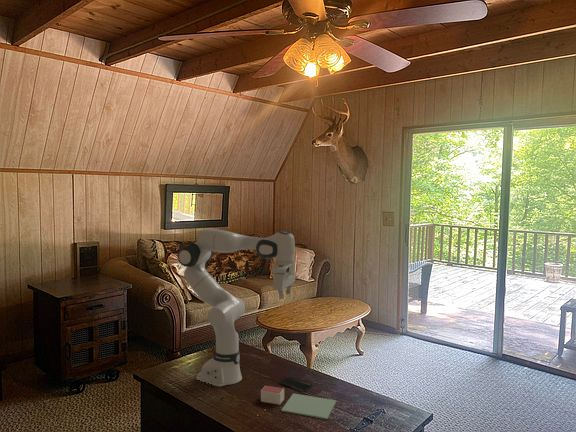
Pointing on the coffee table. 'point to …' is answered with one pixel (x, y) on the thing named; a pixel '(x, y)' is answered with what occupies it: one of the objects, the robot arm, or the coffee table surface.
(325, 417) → the mat
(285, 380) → the phone
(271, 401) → the card case
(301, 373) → the coffee table surface
